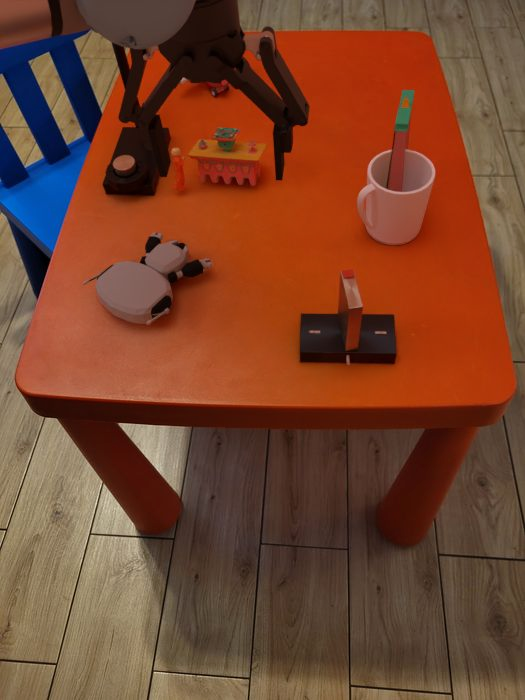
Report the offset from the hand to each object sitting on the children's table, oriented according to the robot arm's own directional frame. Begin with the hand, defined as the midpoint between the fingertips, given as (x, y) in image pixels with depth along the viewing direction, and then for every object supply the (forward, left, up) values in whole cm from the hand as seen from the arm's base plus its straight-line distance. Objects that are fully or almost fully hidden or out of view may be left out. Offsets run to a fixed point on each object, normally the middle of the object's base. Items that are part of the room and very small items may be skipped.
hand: (222, 171), depth 71 cm
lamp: (+10, +36, -15) cm, 40 cm away
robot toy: (-10, +7, -19) cm, 23 cm away
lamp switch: (-1, +26, -15) cm, 30 cm away
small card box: (+3, -19, -16) cm, 25 cm away
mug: (+21, -9, -19) cm, 30 cm away
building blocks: (+17, +8, -18) cm, 26 cm away
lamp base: (+3, +30, -19) cm, 35 cm away
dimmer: (+3, -19, -19) cm, 27 cm away
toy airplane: (+25, +38, -19) cm, 50 cm away
